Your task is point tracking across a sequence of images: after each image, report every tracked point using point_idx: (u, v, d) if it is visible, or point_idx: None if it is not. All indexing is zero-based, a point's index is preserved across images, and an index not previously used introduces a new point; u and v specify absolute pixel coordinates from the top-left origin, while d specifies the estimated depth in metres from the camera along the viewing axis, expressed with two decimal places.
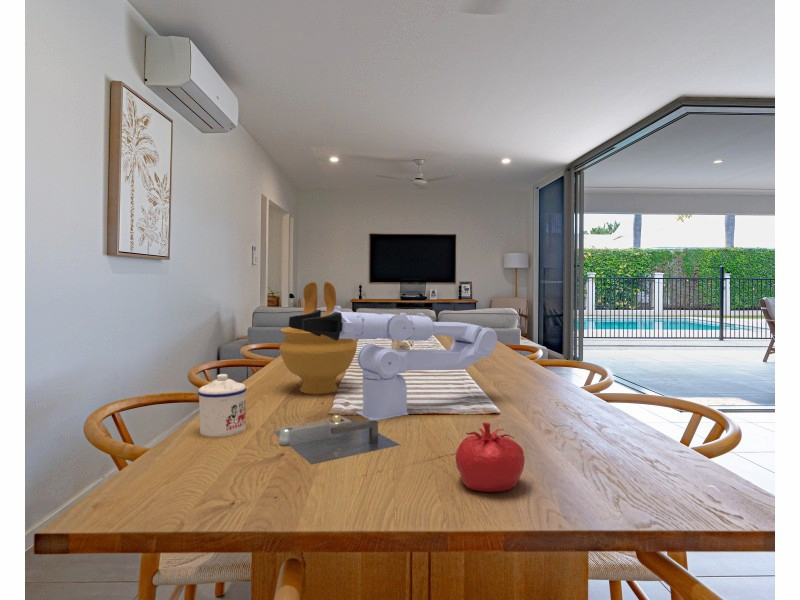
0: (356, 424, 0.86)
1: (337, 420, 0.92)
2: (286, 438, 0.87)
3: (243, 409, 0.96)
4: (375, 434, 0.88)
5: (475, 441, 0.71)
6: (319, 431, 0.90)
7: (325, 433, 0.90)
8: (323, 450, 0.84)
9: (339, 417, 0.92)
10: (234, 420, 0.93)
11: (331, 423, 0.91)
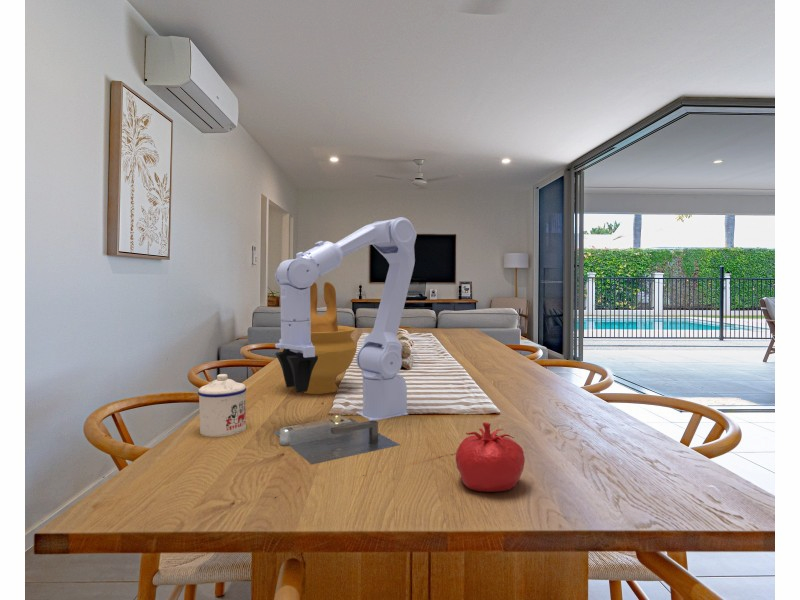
0: (356, 424, 0.86)
1: (337, 420, 0.92)
2: (286, 438, 0.87)
3: (243, 409, 0.96)
4: (375, 434, 0.88)
5: (475, 441, 0.71)
6: (319, 431, 0.90)
7: (325, 433, 0.90)
8: (323, 450, 0.84)
9: (339, 417, 0.92)
10: (234, 420, 0.93)
11: (331, 423, 0.91)
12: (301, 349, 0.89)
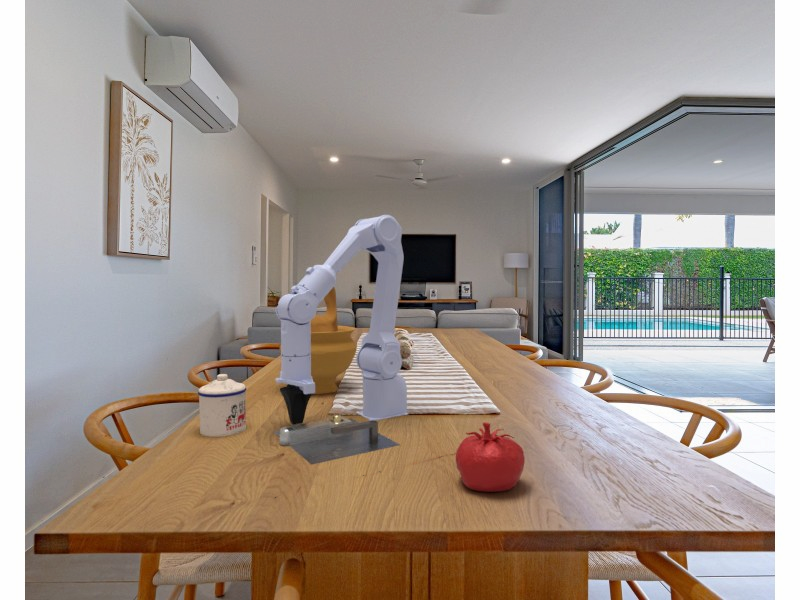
0: (356, 424, 0.86)
1: (337, 420, 0.92)
2: (286, 438, 0.87)
3: (243, 409, 0.96)
4: (375, 434, 0.88)
5: (475, 441, 0.71)
6: (319, 431, 0.90)
7: (325, 433, 0.90)
8: (323, 450, 0.84)
9: (339, 417, 0.92)
10: (234, 420, 0.93)
11: (331, 423, 0.91)
12: (301, 385, 0.89)
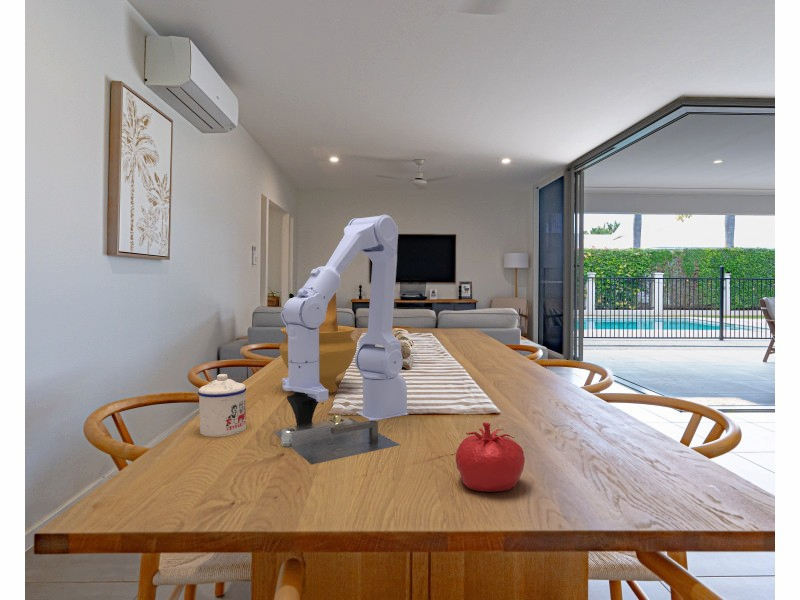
0: (356, 424, 0.86)
1: (337, 420, 0.92)
2: (288, 439, 0.86)
3: (243, 409, 0.96)
4: (375, 434, 0.88)
5: (475, 441, 0.71)
6: (320, 431, 0.89)
7: (326, 433, 0.90)
8: (323, 450, 0.84)
9: (339, 417, 0.92)
10: (234, 420, 0.93)
11: (332, 423, 0.91)
12: (314, 393, 0.85)
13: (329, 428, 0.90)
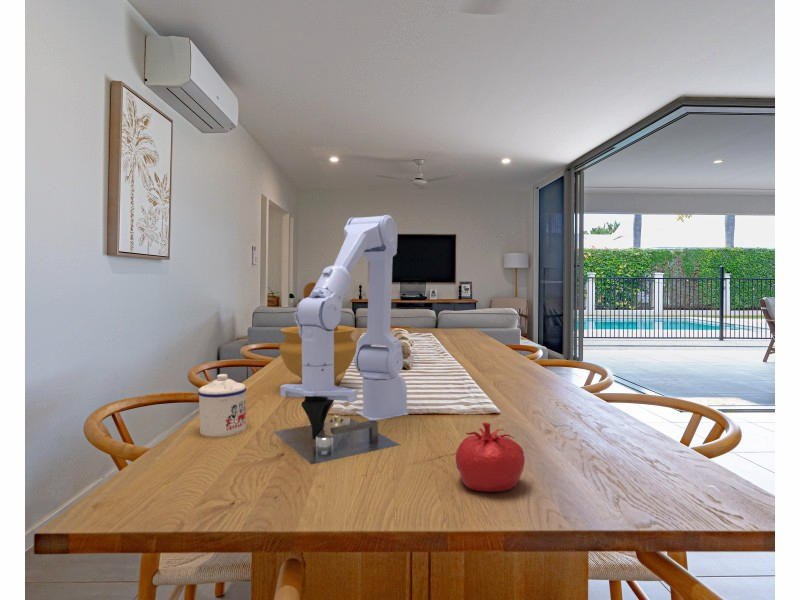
0: (356, 424, 0.86)
1: (337, 420, 0.92)
2: (330, 445, 0.83)
3: (243, 409, 0.96)
4: (375, 434, 0.88)
5: (475, 441, 0.71)
6: None
7: (341, 433, 0.90)
8: None
9: (339, 417, 0.92)
10: (234, 420, 0.93)
11: (341, 423, 0.91)
12: (345, 394, 0.84)
13: None
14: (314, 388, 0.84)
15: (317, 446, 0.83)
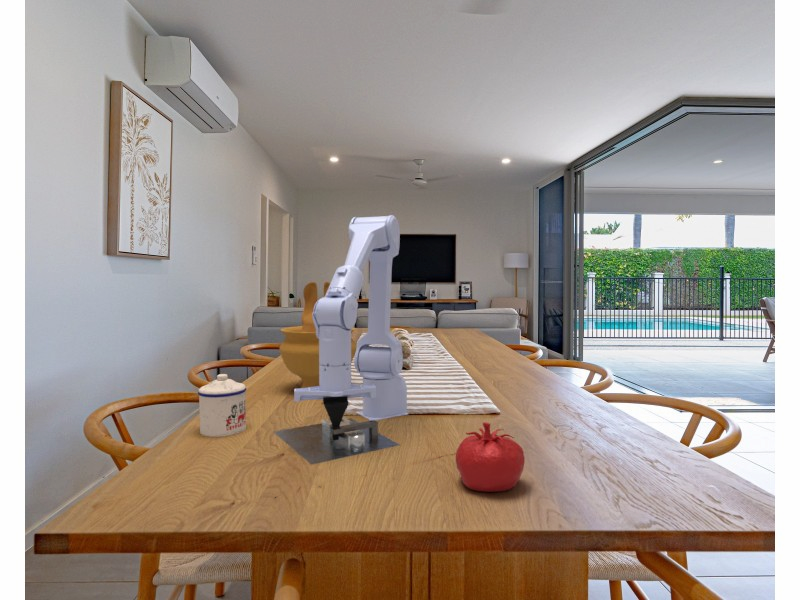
0: (356, 424, 0.86)
1: None
2: (363, 442, 0.84)
3: (243, 409, 0.96)
4: (375, 434, 0.88)
5: (475, 441, 0.71)
6: None
7: None
8: (323, 450, 0.84)
9: None
10: (234, 420, 0.93)
11: (345, 421, 0.92)
12: (368, 390, 0.87)
13: None
14: (340, 388, 0.84)
15: (351, 445, 0.83)
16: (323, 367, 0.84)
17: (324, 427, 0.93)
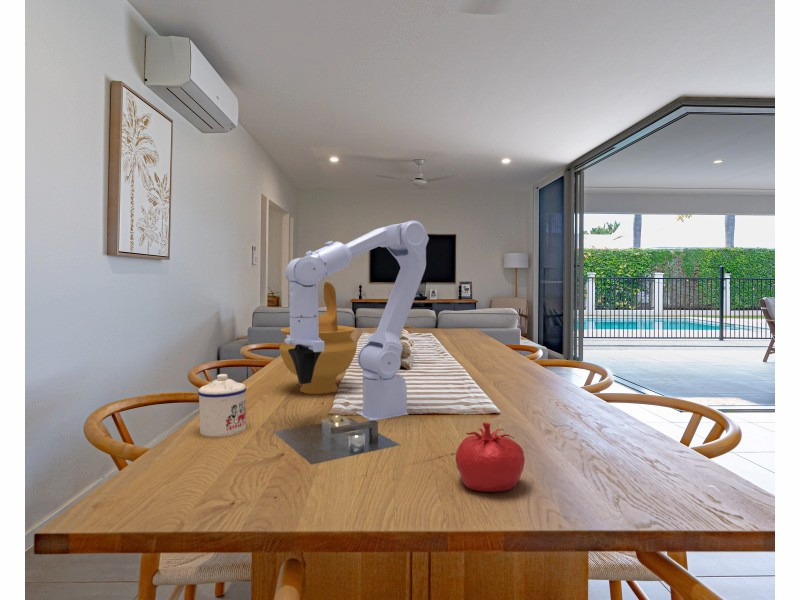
0: (356, 424, 0.86)
1: (337, 420, 0.92)
2: (363, 442, 0.84)
3: (243, 409, 0.96)
4: (375, 434, 0.88)
5: (475, 441, 0.71)
6: None
7: None
8: (323, 450, 0.84)
9: (339, 417, 0.92)
10: (234, 420, 0.93)
11: (345, 421, 0.92)
12: (311, 344, 0.92)
13: None
14: (292, 337, 0.96)
15: (351, 445, 0.83)
16: None
17: (324, 427, 0.93)
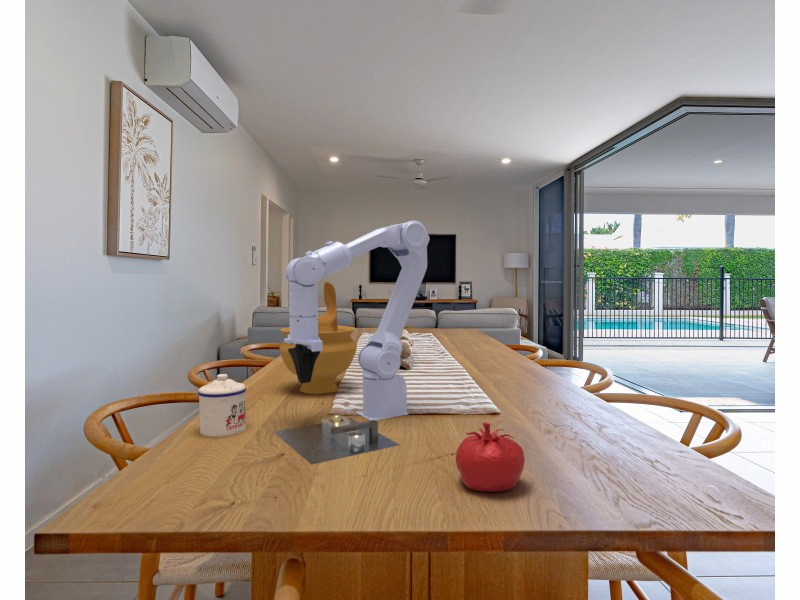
0: (356, 424, 0.86)
1: (337, 420, 0.92)
2: (363, 442, 0.84)
3: (243, 409, 0.96)
4: (375, 434, 0.88)
5: (475, 441, 0.71)
6: None
7: None
8: (323, 450, 0.84)
9: (339, 417, 0.92)
10: (234, 420, 0.93)
11: (345, 421, 0.92)
12: (309, 343, 0.93)
13: None
14: (292, 336, 0.96)
15: (351, 445, 0.83)
16: None
17: (324, 427, 0.93)
